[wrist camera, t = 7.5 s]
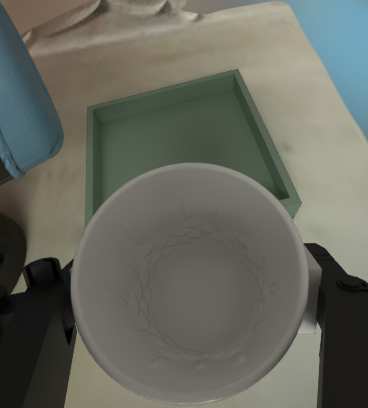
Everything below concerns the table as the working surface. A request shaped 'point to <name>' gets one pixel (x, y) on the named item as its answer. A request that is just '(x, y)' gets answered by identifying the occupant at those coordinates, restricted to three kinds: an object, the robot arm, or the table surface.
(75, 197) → the table surface
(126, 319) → the white cup
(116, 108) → the green box
